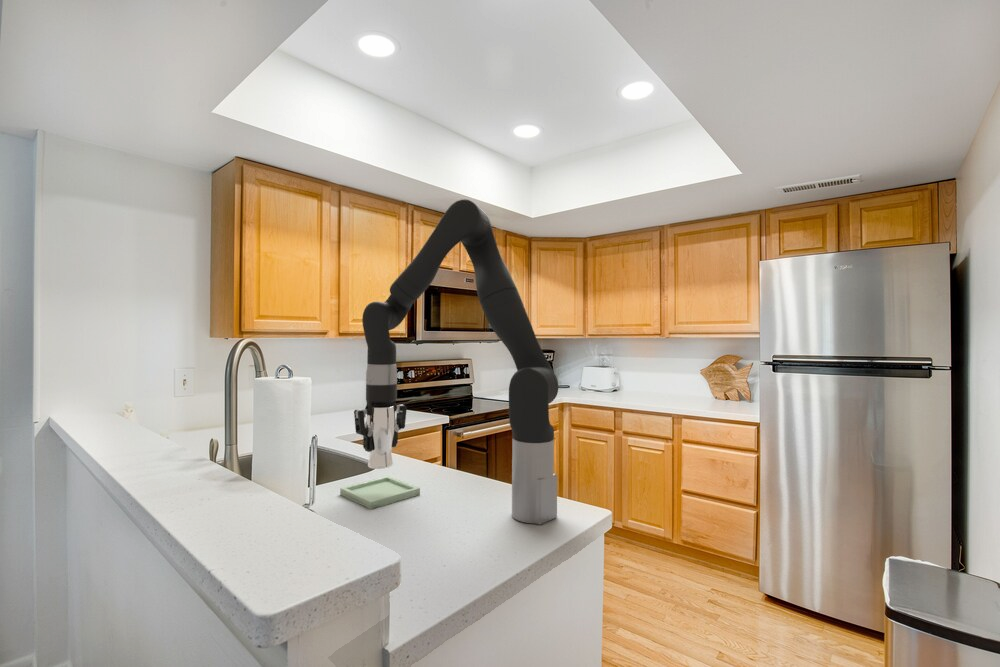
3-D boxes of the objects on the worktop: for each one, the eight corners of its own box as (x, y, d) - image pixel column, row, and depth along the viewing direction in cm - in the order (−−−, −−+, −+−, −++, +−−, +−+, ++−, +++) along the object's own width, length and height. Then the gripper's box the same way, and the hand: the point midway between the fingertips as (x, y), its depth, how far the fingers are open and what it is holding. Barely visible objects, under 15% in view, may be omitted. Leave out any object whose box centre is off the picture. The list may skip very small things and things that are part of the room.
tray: (419, 494, 119) (420, 488, 119) (370, 509, 109) (370, 502, 109) (388, 482, 129) (388, 476, 129) (340, 494, 119) (340, 488, 119)
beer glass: (360, 468, 117) (360, 406, 117) (375, 460, 123) (376, 402, 123) (385, 470, 115) (386, 408, 114) (399, 463, 121) (400, 404, 121)
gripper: (363, 385, 111) (363, 457, 111) (414, 381, 122) (413, 446, 122) (347, 382, 116) (346, 451, 116) (397, 379, 127) (396, 441, 127)
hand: (380, 448), depth 119 cm, fingers closed on beer glass, 6 cm apart
